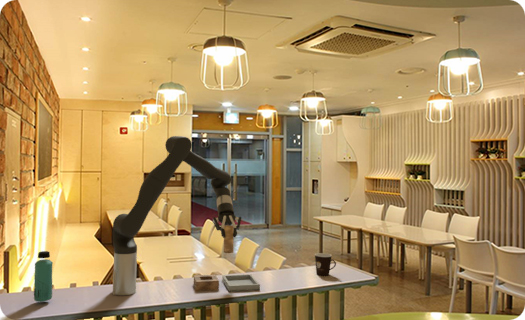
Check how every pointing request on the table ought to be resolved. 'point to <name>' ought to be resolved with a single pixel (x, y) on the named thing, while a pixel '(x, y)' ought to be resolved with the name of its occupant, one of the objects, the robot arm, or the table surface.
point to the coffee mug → (323, 264)
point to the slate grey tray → (240, 282)
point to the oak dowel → (228, 239)
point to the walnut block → (206, 282)
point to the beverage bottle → (43, 278)
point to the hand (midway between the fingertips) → (229, 236)
